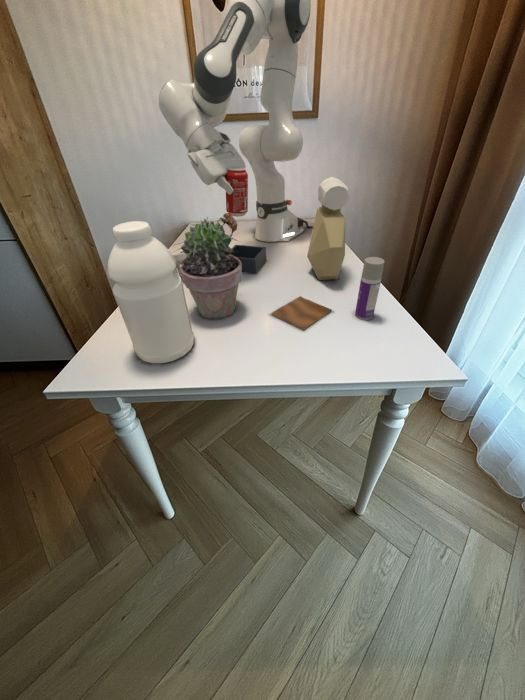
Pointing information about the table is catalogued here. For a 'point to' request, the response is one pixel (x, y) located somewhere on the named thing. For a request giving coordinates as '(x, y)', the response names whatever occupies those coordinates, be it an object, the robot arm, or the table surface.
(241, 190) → the beverage can
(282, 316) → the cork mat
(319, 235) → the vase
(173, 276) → the bottle
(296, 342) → the table surface
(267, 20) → the robot arm
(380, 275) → the container
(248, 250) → the bin
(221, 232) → the potted plant
